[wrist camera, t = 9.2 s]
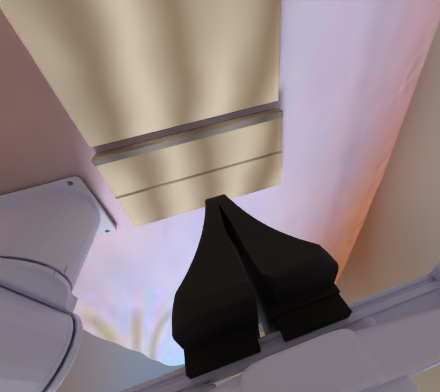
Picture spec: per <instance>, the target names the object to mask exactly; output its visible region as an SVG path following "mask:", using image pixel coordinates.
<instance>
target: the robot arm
mask: <svg viewBox="0 0 440 392" xmlns="http://www.w3.org/2000/svg"><path fill="white" fill-rule="evenodd" d="M69 181H71V182H72V183H73V184H70V183H69ZM107 229H108V230H107ZM116 229H117V228H116V226H115V224H114V223H113V222H112V220H111V219H110V218H109V216H108V215H107V213H106V212H105V211H104V209H103V208H102V207H101V205H100V204H99V202H98V201H97V200H96V198H95V197H94V196H93V194H92V193H91V191H90V190H89V189H88V187H87V186H86V185H85V183H84V182H83V181H82V179H81V178H80V177H77V176H73V177H69V178H65V179H62V180H58V181H54V182H50V183H46V184H43V185H39V186H35V187H31V188H27V189H24V190H20V191H16V192H12V193H8V194H4V195H1V196H0V392H55V391H56V390H57V388H58V387H59V386H60V384H61V383H62V381H63V379H64V378H65V377H66V375H67V373H68V371H69V370H70V368H71V366H72V364H73V362H74V360H75V357H76V355H77V352H78V349H79V346H80V343H81V338H82V332H83V325H82V321H81V319H80V317H79V316H78V315H77V314H74V313H73V310H74V308H75V305H76V303H77V300H78V298H77V297H75V296H74V295H73V294H72V290H73V288H74V285H75V283H76V281H77V278H78V276H79V274H80V271H81V269H82V266H83V264H84V262H85V259H86V257H87V255H88V252H89V250H90V247H91V245H92V243H93V240H94V238H96V237H100V236H103V235H106V234H110V233H113V232H115V231H116ZM338 267H339V266H338V263H337V262H336V261H335V260H334V259H333V258H332V256H331V255H330V254H329V253H328V252H327V251H325V250H324V249H323V248H322V247H321V246H320V245H318V244H315V243H311V242H308V241H304V240H301V239H298V238H295V237H292V236H289V235H287V234H284V233H282V232H280V231H277V230H275V229H273V228H271V227H269V226H267V225H265V224H263V223H262V222H260V221H258V220H257V219H255V218H253V217H252V216H250V215H249V214H248V213H246V212H245V211H243V210H242V209H241V208H240V207H238V206H237V205H236V204H235V203H234V202H233V201H231V200H230V199H229V198H228V197H227V196H226V195H225V194H222V195H219V196H216V197H212V198H209V199H206V200H205V219H204V226H203V231H202V235H201V239H200V242H199V245H198V248H197V251H196V254H195V256H194V259H193V261H192V263H191V265H190V268H189V270H188V272H187V274H186V276H185V278H184V280H183V281H182V283H181V285H180V287H179V288H178V290H177V292H176V294H175V298H174V303H173V311H172V336H173V338H174V340H175V341H176V342H177V343H178V344H179V345H180V346H181V347H182V348H183V349H184V356H185V367H183V368H180V369H177V370H175V371H172V372H169V373H167V374H164V375H161V376H159V377H156V378H154V379H151V380H148V381H146V382H143V383H140V384H138V385H135V386H133V387H130V388H127V389H125V390H122V391H120V392H421V391H420V390H419V389H418V387H417V386H416V385H415V383H414V382H413V381H412V380H411V378H410V377H411V376H414V375H416V374H418V373H421V372H423V371H425V370H427V369H429V368H432V367H434V366H436V365H438V364H440V262H439V263H438V264H436V265H435V266H434V267H433V268H432V269H431V270H430V271H429V274H426V275H423V276H421V277H418V278H415V279H413V280H410V281H407V282H405V283H402V284H400V285H397V286H394V287H392V288H389V289H387V290H384V291H381V292H379V293H376V294H373V295H371V296H368V297H366V298H363V299H360V300H358V301H355V302H352V303H350V304H346V303H345V301H344V300H343V299H342V298H341V296H340V295H339V293H340V291H339V289H338V288H337V286H336V285H335V284H334V281H335V278H336V276H337V273H338ZM258 315H259V318H260V321H261V324H262V327H263V330H264V333H265V336H264V337H261V338H260V333H259V326H258V323H259V319H258ZM243 371H244V372H243ZM240 372H243V374H241V375H239V376H237V377H235V378H233V379H231V380H229V381H227V382H225V383H223V384H221V385H219V386H217V387H216V385H215V384H212V383H214V382H217V381H220V380H222V379H225V378H227V377H230V376H233V375H235V374H238V373H240Z"/></svg>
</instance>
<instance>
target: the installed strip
mask: <svg viewBox="0 0 440 392" xmlns="http://www.w3.org/2000/svg"><path fill="white" fill-rule="evenodd" d="M282 118H283V111H282V110H279V109H276V108H275V109H271V110H267V111H263V112H259V113H255V114H251V115H247V116H243V117H239V118H235V119H231V120H228V121H224V122H220V123H216V124H212V125H208V126H204V127H200V128H196V129H192V130H188V131H184V132H180V133H176V134H172V135H169V136H165V137H161V138H157V139H153V140H149V141H145V142H141V143H137V144H133V145H129V146H125V147H121V148H117V149H113V150H110V151H106V152H102V153H98V154H96V155H95V156H94V157H93V158H92V159H91V161H92V162H93V164H94V166H96V168H97V169H98V171H99V173H100V174H101V176H102V177H103V179H104V180H105V182H106V183H107V185H108V187H109V188H110V190H111V191H112V193H113V194H114V196H115V197H116V199H117V201H118V202H119V204H120V205H121V207H122V208H123V210H124V211H125V213H126V214H127V216H128V218H129V219H130V221H131V222H132V224H133V225H134V227H138V226H142V225H145V224H149V223H152V222H155V221H159V220H162V219H165V218H169V217H172V216H175V215H179V214H182V213H185V212H189V211H192V210H195V209H199V208H202V207H205V200H206V199H209V198H212V197H216V196H219V195H222V194H225V195H226V196H227V197H228V198H229V199H232V198H236V197H239V196H242V195H246V194H249V193H252V192H256V191H259V190H263V189H266V188H269V187H273V186H276V185H279V184H281V153H282V151H281V146H282Z"/></svg>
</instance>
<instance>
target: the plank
mask: <svg viewBox="0 0 440 392" xmlns="http://www.w3.org/2000/svg"><path fill="white" fill-rule="evenodd" d="M0 9H1V10H2V12H3V13H4V15H5V16H6V18H7V19H8V21H9V23H10V24H11V26H12V27H13V29H14V30H15V32H16V33H17V35H18V37H19V38H20V40H21V41H22V43H23V44H24V46H25V47H26V49H27V51H28V52H29V54H30V55H31V57H32V58H33V60H34V61H35V63H36V65H37V66H38V68H39V69H40V71H41V72H42V74H43V75H44V77H45V79H46V80H47V82H48V83H49V85H50V86H51V88H52V89H53V91H54V93H55V94H56V96H57V97H58V99H59V100H60V102H61V103H62V105H63V107H64V108H65V110H66V111H67V113H68V114H69V116H70V118H71V119H72V121H73V122H74V124H75V125H76V127H77V128H78V130H79V132H80V133H81V135H82V136H83V138H84V139H85V141H86V142H87V144H88V146H89V147H90V148H91V147H95V146H99V145H103V144H107V143H111V142H115V141H119V140H123V139H127V138H131V137H135V136H139V135H143V134H147V133H151V132H155V131H159V130H163V129H167V128H171V127H175V126H179V125H183V124H187V123H191V122H195V121H199V120H203V119H207V118H211V117H215V116H219V115H223V114H227V113H231V112H235V111H239V110H243V109H247V108H251V107H255V106H259V105H263V104H267V103H271V102H275V101H278V87H279V50H280V12H281V0H0Z"/></svg>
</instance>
